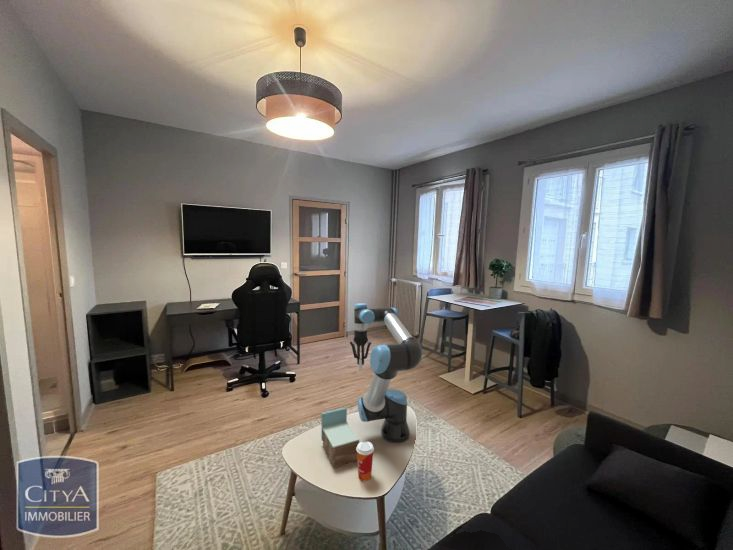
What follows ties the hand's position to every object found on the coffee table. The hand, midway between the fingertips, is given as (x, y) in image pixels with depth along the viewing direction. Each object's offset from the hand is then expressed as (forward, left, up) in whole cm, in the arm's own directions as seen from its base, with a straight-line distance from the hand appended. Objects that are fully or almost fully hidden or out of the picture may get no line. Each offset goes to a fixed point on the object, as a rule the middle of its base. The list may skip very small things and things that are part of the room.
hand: (360, 370), depth 178 cm
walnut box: (0, +34, -28) cm, 45 cm away
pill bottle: (-15, +45, -29) cm, 56 cm away
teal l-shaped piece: (+1, +33, -25) cm, 42 cm away
